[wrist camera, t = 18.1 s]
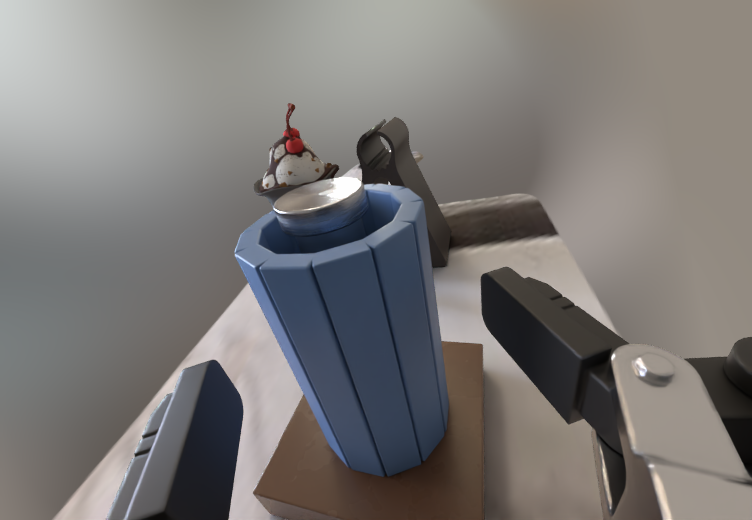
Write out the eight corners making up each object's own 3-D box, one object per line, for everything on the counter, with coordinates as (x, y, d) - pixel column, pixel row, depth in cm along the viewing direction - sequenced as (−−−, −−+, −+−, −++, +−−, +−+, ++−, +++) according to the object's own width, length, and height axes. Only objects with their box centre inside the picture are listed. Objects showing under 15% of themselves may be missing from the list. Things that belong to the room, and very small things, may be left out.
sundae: (361, 298, 26) (305, 100, 18) (286, 306, 27) (205, 122, 19) (369, 257, 31) (329, 92, 24) (307, 265, 33) (250, 110, 25)
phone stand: (451, 234, 32) (441, 108, 26) (446, 267, 27) (432, 121, 21) (370, 238, 35) (344, 126, 29) (352, 268, 30) (317, 141, 24)
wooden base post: (269, 514, 14) (70, 279, 7) (342, 355, 21) (273, 166, 15) (484, 580, 11) (467, 280, 4) (483, 367, 18) (476, 137, 12)
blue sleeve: (305, 459, 13) (191, 268, 8) (350, 355, 18) (294, 191, 13) (441, 490, 12) (398, 266, 6) (452, 364, 16) (433, 176, 11)
